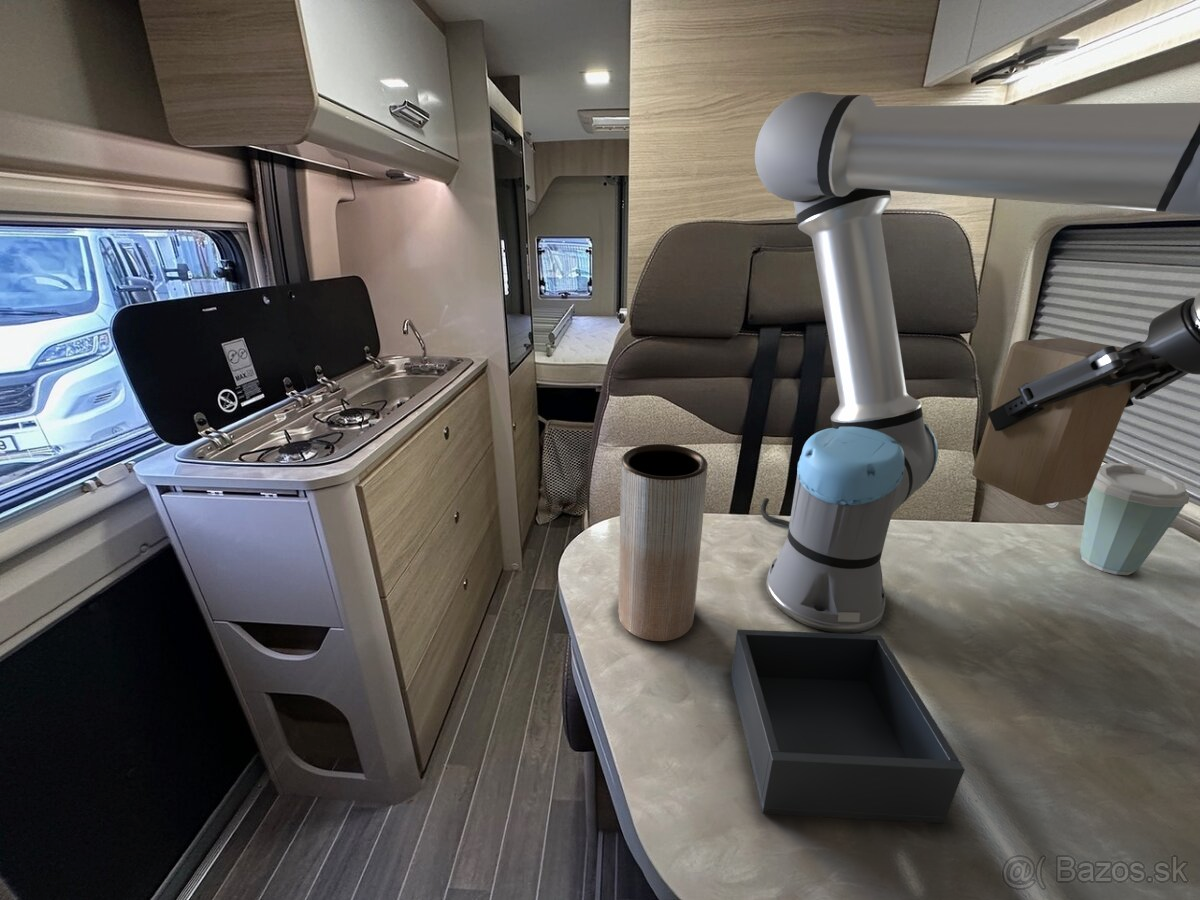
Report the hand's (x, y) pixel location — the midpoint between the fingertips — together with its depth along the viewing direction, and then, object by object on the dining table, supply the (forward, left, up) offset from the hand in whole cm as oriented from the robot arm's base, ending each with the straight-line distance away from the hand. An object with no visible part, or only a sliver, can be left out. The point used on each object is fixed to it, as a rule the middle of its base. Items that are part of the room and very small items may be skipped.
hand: (1028, 419), depth 73 cm
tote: (+19, -44, -23) cm, 53 cm away
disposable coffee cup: (+6, +18, -24) cm, 30 cm away
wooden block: (+3, 0, -9) cm, 10 cm away
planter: (-3, -53, -24) cm, 58 cm away
